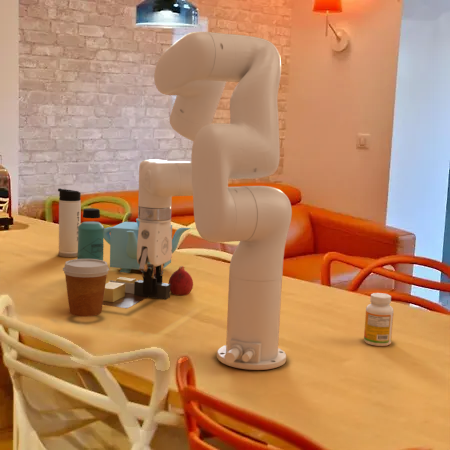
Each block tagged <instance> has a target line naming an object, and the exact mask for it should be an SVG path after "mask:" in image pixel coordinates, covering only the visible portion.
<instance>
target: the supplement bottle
mask: <svg viewBox="0 0 450 450" xmlns="http://www.w3.org/2000/svg"><path fill="white" fill-rule="evenodd" d="M391 303H392V295H390V294H388V293H384V292H383V293H382V292H373V293H371V294H370V303H368V304H367V305H366V307H365V316H364V317H365V319H364V331H363V333H364V334H363V341H364V342H365V343H366V344H367V345H370V346H375V347H376V346H377V347H387V346H389V345H391V343H392V337H393V324H394V323H393V322H394V308H393V306H391V305H390V304H391Z"/></svg>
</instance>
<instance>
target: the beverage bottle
mask: <svg viewBox="0 0 450 450" xmlns="http://www.w3.org/2000/svg"><path fill="white" fill-rule="evenodd" d="M82 218H83V219H100V218H101V211H100V208H94V207H93V208H92V207H89V208H83V209H82ZM104 229H105V227H104V226H103V224H102V223H101V222H99V221H83V222H80V225H79V226H78V254H77V257H76V259H97V260H103V261H104V248H105V245H104V243H105V242H104Z"/></svg>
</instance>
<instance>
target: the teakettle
mask: <svg viewBox="0 0 450 450" xmlns="http://www.w3.org/2000/svg"><path fill="white" fill-rule="evenodd" d="M135 221H136V222H135ZM135 221H123V222H120V223H119V224H116V225H114V226H109V227H104V238H103V240H104V241H105V242H106V243H107V244H108V245H109V268H113V269H114V268H115V269H120V270H119V273H125V274H131V271H132V270H139V267H140V264H138V262H137V241H138V231H139V223H140V221H138V217H137V218H136V219H135ZM190 229H191V227H179V228H177V230H175V232H174V234H173V236H172V255H173V254H174V252H175V251H176V250H177V248H178V245H179V243H180V239H181V237H182V235H183V234H184V233H185V232H186V231H189V230H190ZM171 231H172V232H173V225H172V224H171ZM147 264H150V262H148V263H147ZM170 264H172V259H171V260H170V261H168V262H166V263H165V264H164V267H163V269H165V268H166V267H167V266H169V265H170ZM148 268H149V267H148ZM150 269H151V268H150Z"/></svg>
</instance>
